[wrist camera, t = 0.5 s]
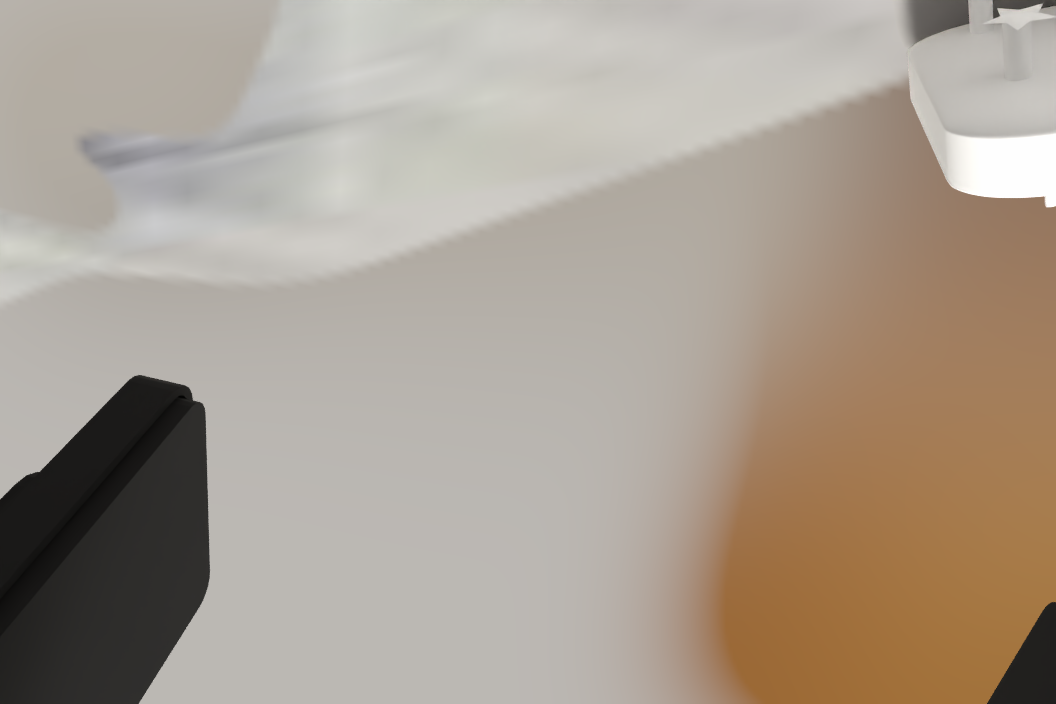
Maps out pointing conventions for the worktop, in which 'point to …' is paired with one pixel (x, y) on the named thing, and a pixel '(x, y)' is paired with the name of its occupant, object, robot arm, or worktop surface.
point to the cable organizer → (991, 101)
